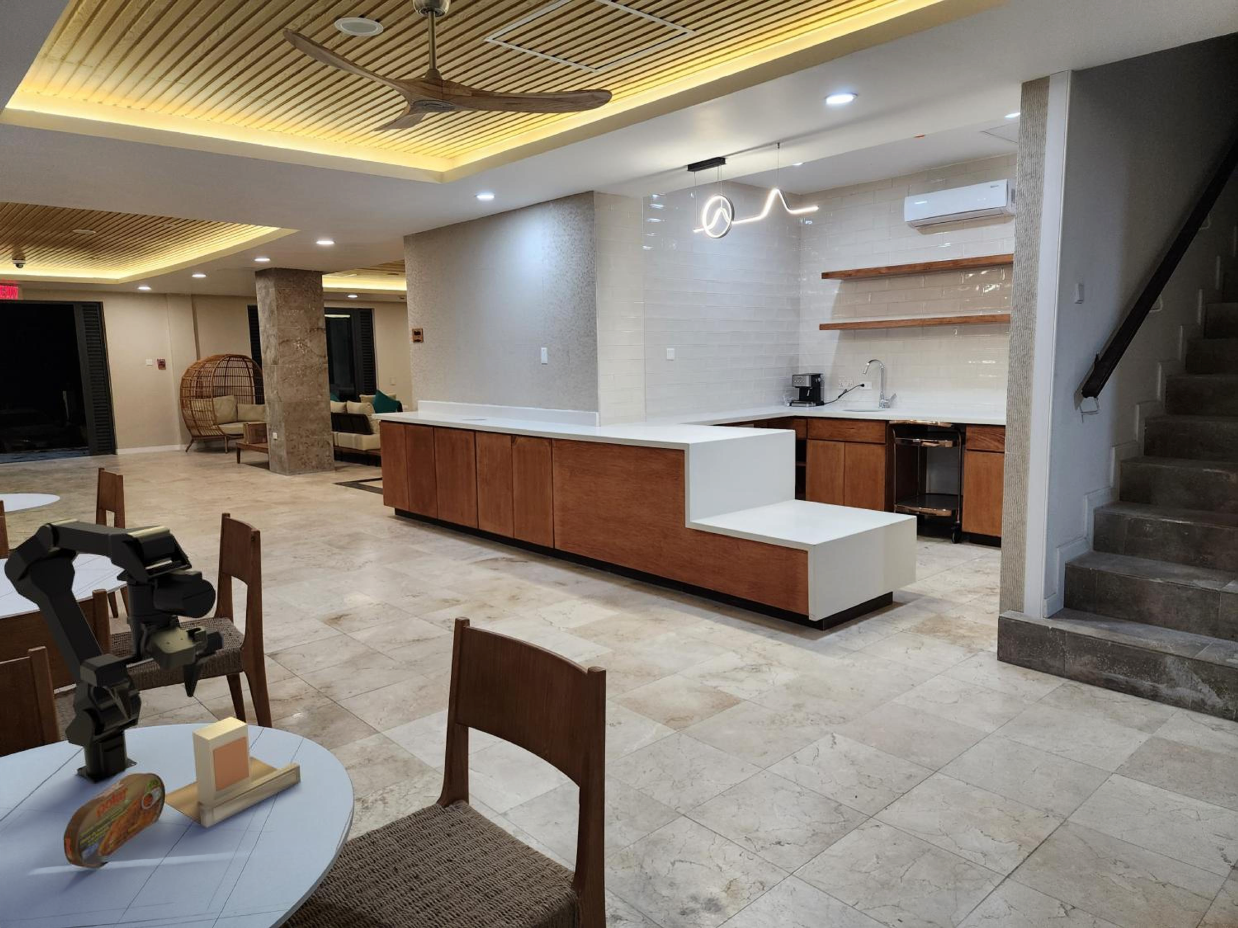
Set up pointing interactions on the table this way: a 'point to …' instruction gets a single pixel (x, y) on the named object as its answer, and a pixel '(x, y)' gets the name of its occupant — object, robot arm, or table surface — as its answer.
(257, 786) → the shelf
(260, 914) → the table surface
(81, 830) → the tin
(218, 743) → the carton
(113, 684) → the robot arm
